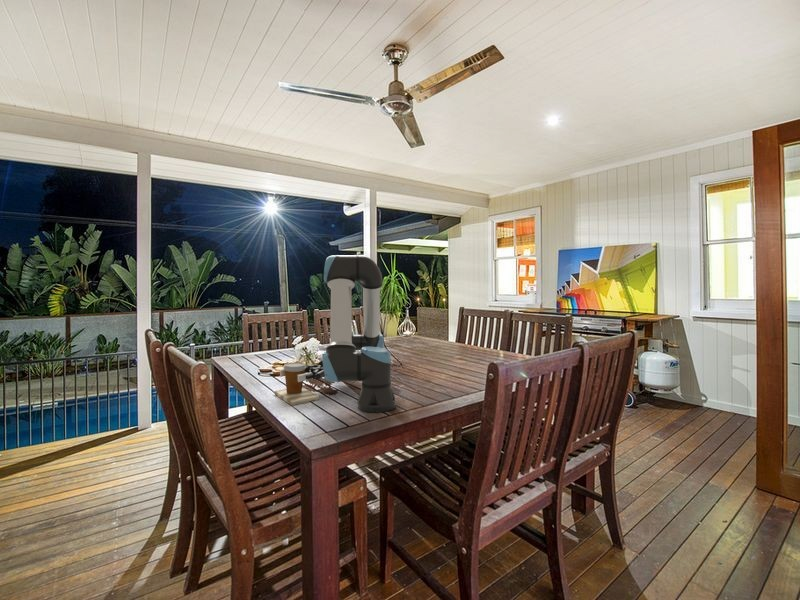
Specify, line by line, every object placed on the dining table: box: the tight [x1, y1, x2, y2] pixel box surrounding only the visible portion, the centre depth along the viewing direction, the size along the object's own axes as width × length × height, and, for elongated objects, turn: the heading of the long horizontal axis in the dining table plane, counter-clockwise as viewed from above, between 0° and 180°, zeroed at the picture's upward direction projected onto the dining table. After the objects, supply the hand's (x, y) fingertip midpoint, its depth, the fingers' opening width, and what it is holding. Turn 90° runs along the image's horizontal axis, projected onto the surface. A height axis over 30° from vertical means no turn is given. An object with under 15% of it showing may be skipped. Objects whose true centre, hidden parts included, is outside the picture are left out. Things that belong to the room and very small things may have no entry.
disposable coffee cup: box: [283, 362, 306, 394], centre depth 166 cm, size 10×10×12 cm
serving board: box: [274, 386, 320, 406], centre depth 164 cm, size 19×12×2 cm, turn 38°
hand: (289, 376), depth 161 cm, fingers open, 13 cm apart
